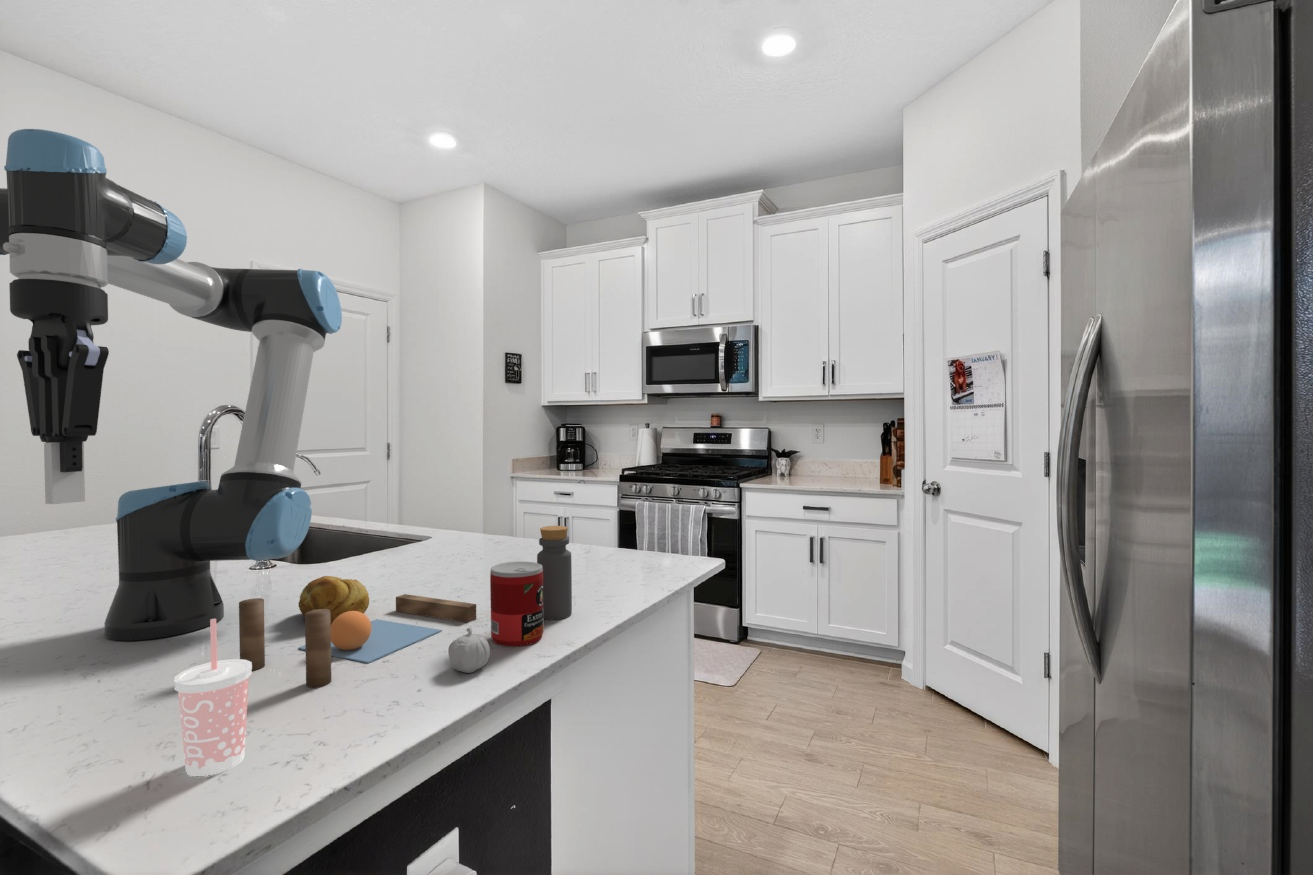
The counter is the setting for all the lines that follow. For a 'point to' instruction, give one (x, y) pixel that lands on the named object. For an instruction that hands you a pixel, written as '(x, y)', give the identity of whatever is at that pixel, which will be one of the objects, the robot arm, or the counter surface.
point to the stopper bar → (436, 607)
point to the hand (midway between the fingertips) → (65, 502)
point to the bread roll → (334, 596)
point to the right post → (318, 647)
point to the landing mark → (384, 641)
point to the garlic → (469, 652)
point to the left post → (252, 632)
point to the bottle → (555, 572)
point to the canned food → (516, 603)
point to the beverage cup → (213, 712)
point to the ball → (350, 630)
